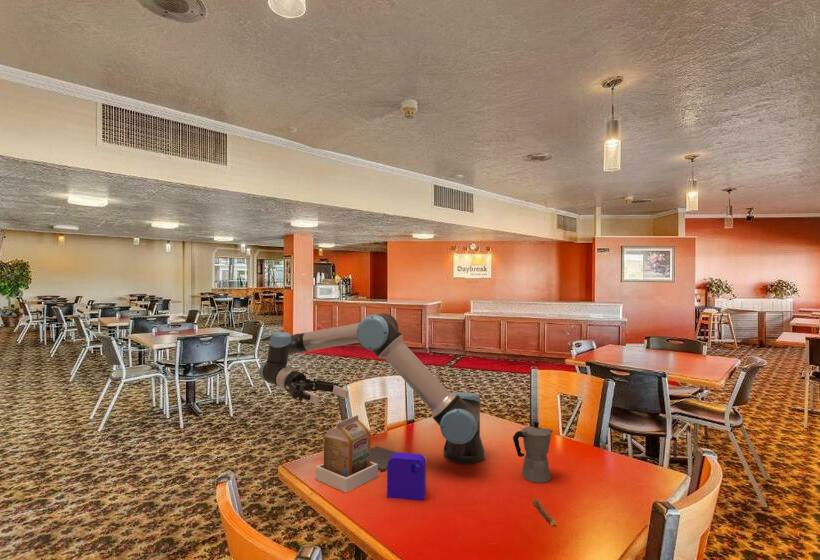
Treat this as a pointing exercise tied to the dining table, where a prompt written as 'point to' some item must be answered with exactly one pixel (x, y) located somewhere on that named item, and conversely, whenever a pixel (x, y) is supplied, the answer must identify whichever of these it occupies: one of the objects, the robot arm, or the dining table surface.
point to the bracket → (406, 476)
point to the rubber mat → (380, 457)
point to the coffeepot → (534, 452)
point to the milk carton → (347, 447)
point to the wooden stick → (543, 512)
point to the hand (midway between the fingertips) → (333, 397)
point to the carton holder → (346, 482)
